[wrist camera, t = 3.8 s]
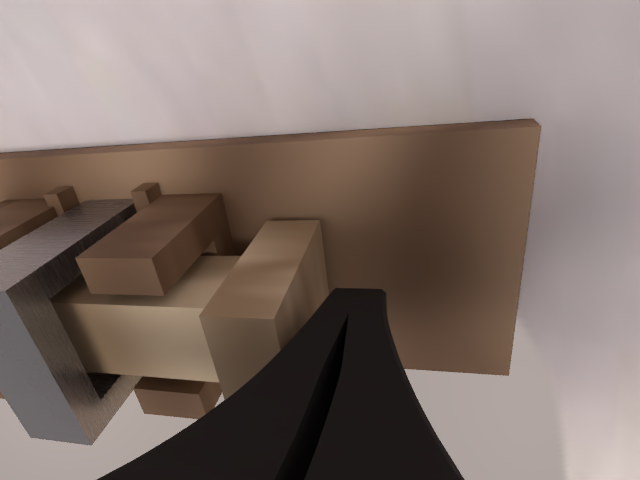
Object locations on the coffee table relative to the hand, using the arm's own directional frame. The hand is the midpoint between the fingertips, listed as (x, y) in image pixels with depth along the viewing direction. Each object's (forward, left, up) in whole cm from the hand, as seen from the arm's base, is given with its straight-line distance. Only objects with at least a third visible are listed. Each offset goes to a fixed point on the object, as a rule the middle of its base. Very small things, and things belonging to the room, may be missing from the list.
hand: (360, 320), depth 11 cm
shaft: (+6, 0, -2) cm, 6 cm away
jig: (+4, 0, -3) cm, 5 cm away
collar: (+8, 0, -2) cm, 8 cm away
